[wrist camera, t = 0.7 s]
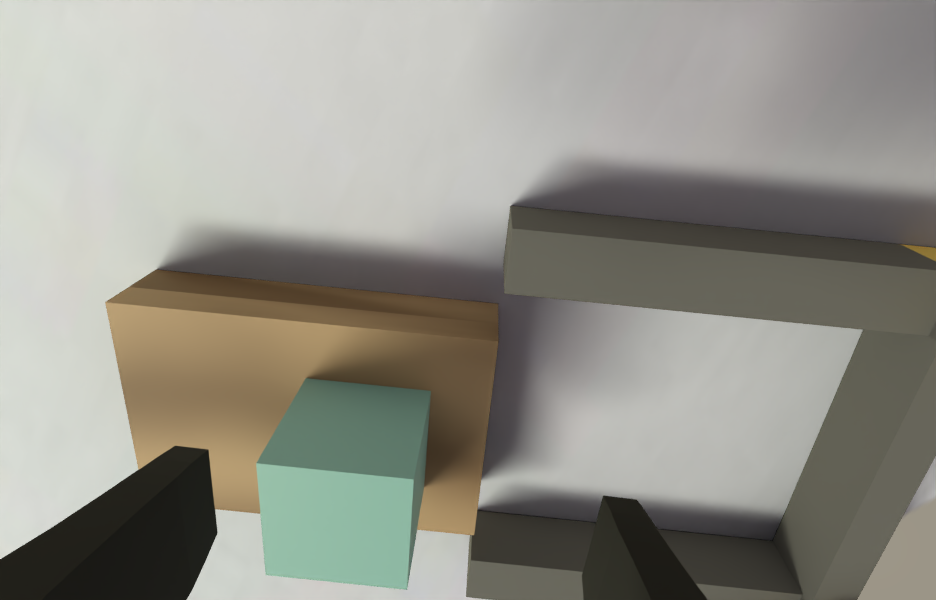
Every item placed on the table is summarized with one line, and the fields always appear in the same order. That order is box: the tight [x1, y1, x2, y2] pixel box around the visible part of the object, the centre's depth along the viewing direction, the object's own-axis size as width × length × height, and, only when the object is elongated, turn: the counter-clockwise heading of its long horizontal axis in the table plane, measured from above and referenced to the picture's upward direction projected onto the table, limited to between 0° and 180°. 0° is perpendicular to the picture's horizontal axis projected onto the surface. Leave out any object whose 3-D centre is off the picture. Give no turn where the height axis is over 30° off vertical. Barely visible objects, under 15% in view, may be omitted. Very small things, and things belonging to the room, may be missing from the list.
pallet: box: [105, 270, 499, 535], centre depth 20 cm, size 8×12×3 cm, turn 85°
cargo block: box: [256, 378, 431, 590], centre depth 17 cm, size 4×4×4 cm
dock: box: [466, 206, 936, 600], centre depth 19 cm, size 15×14×4 cm
